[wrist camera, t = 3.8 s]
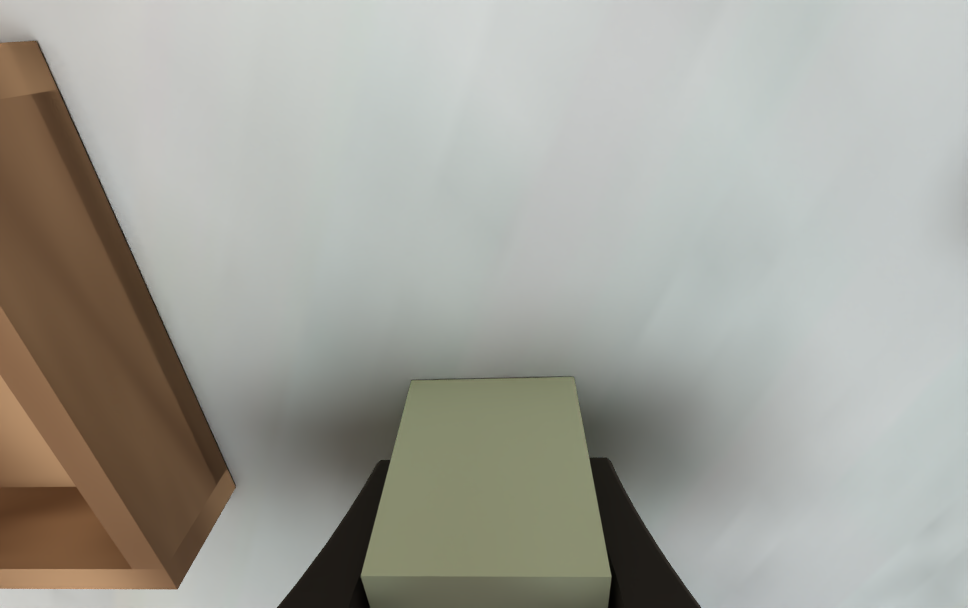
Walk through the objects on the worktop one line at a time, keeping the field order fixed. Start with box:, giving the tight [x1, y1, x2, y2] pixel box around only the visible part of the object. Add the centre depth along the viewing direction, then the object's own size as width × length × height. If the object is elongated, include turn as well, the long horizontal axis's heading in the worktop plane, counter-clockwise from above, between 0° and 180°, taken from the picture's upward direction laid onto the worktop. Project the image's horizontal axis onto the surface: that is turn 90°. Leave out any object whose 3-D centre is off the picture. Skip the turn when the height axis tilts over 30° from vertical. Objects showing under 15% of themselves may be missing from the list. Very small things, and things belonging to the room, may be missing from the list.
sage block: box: [361, 377, 611, 608], centre depth 11 cm, size 4×4×5 cm
